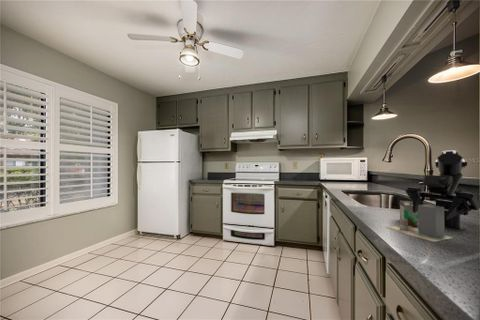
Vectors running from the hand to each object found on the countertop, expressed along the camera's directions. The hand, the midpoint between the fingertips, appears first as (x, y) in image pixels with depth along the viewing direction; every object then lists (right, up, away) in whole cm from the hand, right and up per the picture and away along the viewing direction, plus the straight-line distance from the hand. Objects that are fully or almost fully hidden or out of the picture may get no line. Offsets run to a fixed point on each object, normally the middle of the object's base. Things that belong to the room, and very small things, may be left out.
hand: (428, 215), depth 70 cm
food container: (+5, -9, +14) cm, 17 cm away
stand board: (-1, -8, +3) cm, 9 cm away
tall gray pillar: (+1, -7, +1) cm, 7 cm away
